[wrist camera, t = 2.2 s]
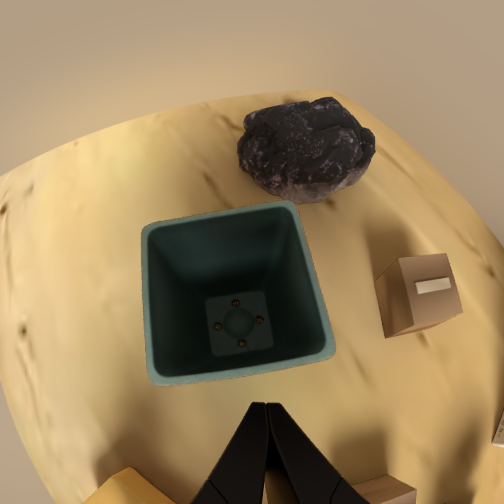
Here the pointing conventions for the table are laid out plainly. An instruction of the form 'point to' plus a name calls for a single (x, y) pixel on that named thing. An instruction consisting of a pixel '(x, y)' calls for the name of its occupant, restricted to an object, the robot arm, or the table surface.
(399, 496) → the numbered block seven
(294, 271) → the flower pot
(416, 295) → the numbered block one
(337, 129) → the crystal cluster
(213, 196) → the table surface
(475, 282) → the table surface
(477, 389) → the table surface
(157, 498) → the rubber stamp
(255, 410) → the robot arm
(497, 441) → the supplement box
